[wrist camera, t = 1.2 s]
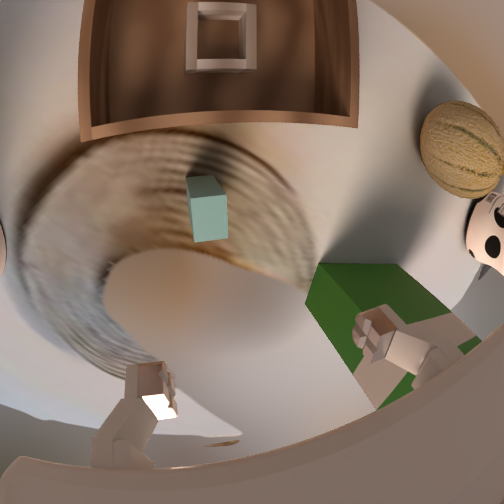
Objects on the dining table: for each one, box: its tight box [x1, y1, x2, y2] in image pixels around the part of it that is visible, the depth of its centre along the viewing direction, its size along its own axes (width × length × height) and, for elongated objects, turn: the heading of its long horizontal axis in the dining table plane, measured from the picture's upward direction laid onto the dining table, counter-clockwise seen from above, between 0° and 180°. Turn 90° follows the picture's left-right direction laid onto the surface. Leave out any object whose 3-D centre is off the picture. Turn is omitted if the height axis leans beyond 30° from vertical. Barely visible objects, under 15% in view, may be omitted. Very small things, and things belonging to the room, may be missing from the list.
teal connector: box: [186, 175, 228, 242], centre depth 26 cm, size 3×4×8 cm
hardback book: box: [305, 263, 482, 410], centre depth 34 cm, size 18×7×24 cm, turn 79°
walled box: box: [78, 0, 359, 142], centre depth 19 cm, size 24×18×8 cm
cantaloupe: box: [420, 101, 504, 199], centre depth 28 cm, size 15×15×15 cm
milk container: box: [465, 191, 504, 275], centre depth 41 cm, size 17×17×18 cm
